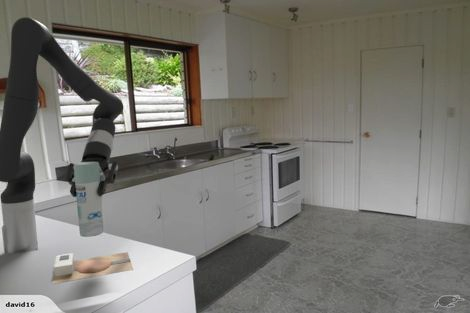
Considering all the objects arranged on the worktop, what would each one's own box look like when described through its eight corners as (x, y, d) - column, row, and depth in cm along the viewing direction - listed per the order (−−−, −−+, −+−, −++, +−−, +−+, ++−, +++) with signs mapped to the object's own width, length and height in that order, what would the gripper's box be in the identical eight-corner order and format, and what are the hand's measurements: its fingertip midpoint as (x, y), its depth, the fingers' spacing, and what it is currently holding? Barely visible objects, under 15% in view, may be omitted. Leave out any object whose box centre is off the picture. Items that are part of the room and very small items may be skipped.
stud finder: (72, 273, 97) (72, 263, 97) (54, 276, 95) (54, 266, 95) (73, 261, 105) (73, 252, 105) (57, 264, 104) (56, 255, 103)
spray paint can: (108, 232, 101) (103, 162, 98) (85, 238, 96) (80, 165, 94) (97, 227, 105) (92, 161, 103) (75, 233, 100) (69, 163, 98)
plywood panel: (53, 289, 91) (52, 283, 91) (57, 268, 104) (57, 262, 104) (133, 274, 99) (133, 268, 99) (128, 256, 112) (127, 251, 112)
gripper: (70, 141, 105) (54, 188, 94) (119, 139, 105) (109, 186, 95) (79, 156, 111) (65, 203, 100) (125, 155, 111) (116, 201, 101)
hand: (86, 195), depth 98 cm, fingers closed on spray paint can, 6 cm apart
